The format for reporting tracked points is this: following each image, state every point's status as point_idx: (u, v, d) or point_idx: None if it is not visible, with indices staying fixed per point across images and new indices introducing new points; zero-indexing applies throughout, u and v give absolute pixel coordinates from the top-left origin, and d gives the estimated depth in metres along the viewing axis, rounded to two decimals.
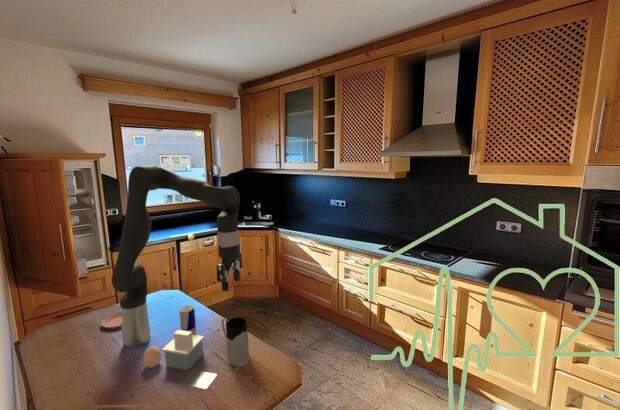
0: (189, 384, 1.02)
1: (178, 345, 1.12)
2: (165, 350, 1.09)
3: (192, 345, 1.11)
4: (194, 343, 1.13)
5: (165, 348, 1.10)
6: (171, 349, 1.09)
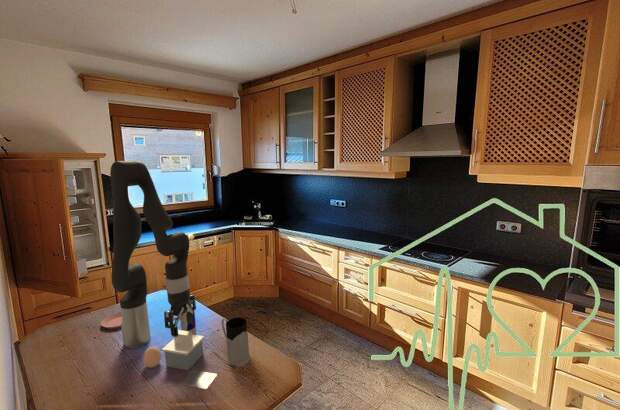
0: (189, 384, 1.02)
1: (178, 345, 1.12)
2: (165, 350, 1.09)
3: (192, 345, 1.11)
4: (194, 343, 1.13)
5: (165, 348, 1.10)
6: (171, 349, 1.09)
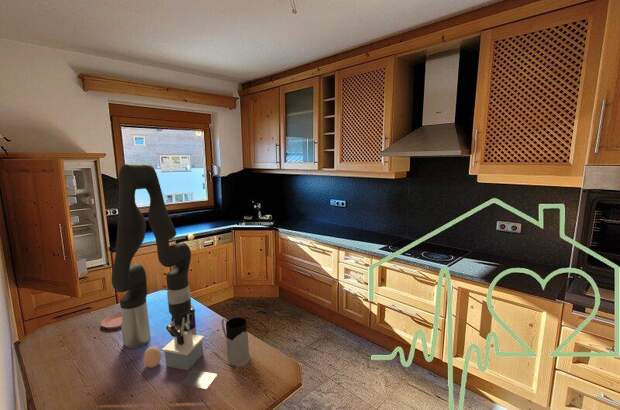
0: (189, 384, 1.02)
1: (178, 345, 1.12)
2: (165, 350, 1.09)
3: (192, 345, 1.11)
4: (194, 343, 1.13)
5: (165, 348, 1.10)
6: (171, 349, 1.09)
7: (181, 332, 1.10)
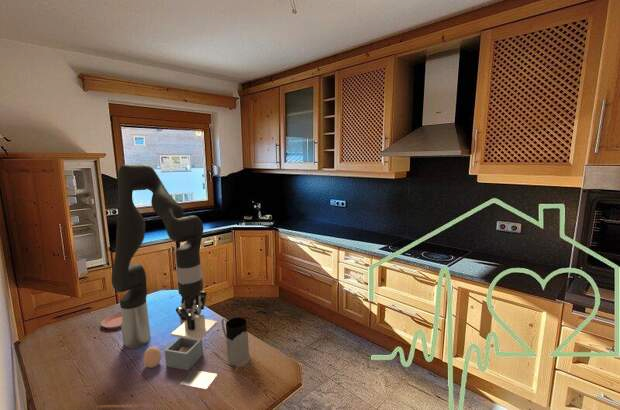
0: (189, 384, 1.02)
1: (188, 329, 1.00)
2: (175, 335, 0.97)
3: (205, 330, 1.00)
4: (207, 328, 1.01)
5: (175, 332, 0.98)
6: (181, 334, 0.97)
7: (192, 316, 0.98)
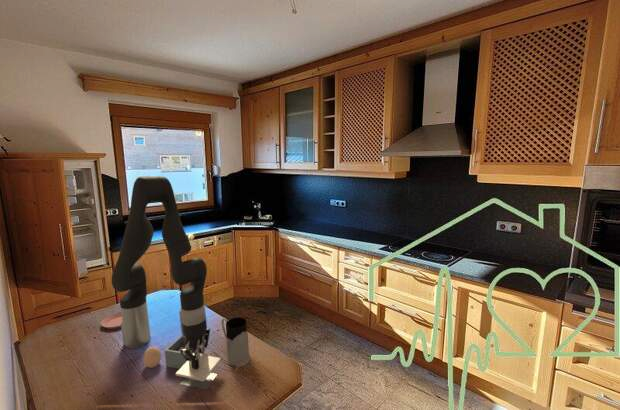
0: (189, 384, 1.02)
1: (192, 368, 1.02)
2: (179, 374, 1.00)
3: (208, 369, 1.02)
4: (210, 367, 1.03)
5: (179, 372, 1.00)
6: (186, 373, 1.00)
7: (196, 355, 1.01)
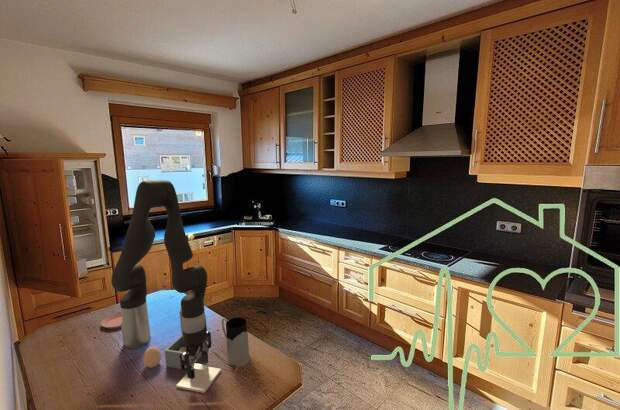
0: None
1: (193, 380, 1.03)
2: (180, 387, 1.01)
3: (209, 380, 1.03)
4: (211, 378, 1.04)
5: (180, 384, 1.01)
6: (186, 385, 1.01)
7: (192, 364, 0.99)
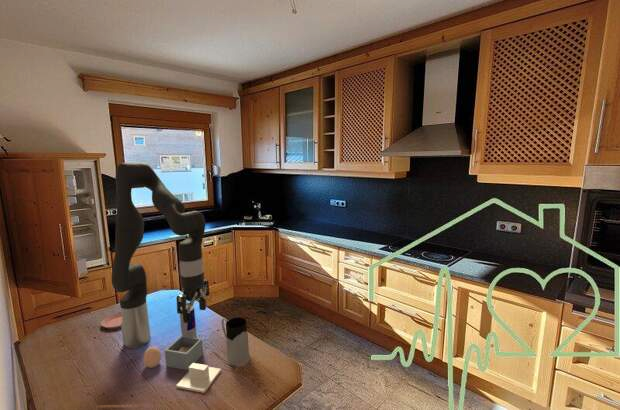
0: None
1: (193, 380, 1.03)
2: (180, 387, 1.01)
3: (209, 380, 1.03)
4: (211, 378, 1.04)
5: (180, 384, 1.01)
6: (186, 385, 1.01)
7: (188, 308, 0.99)
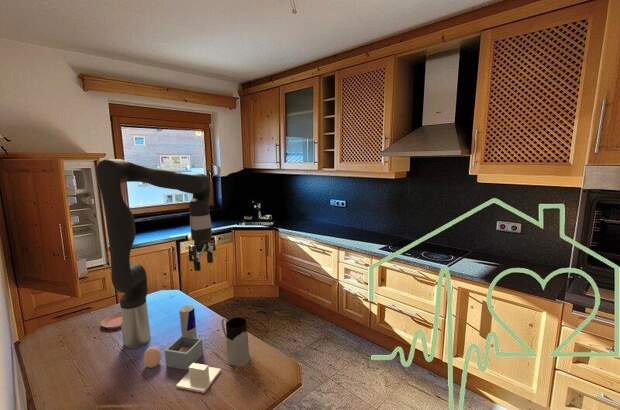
0: None
1: (193, 380, 1.03)
2: (180, 387, 1.01)
3: (209, 380, 1.03)
4: (211, 378, 1.04)
5: (180, 384, 1.01)
6: (186, 385, 1.01)
7: (199, 258, 1.14)
